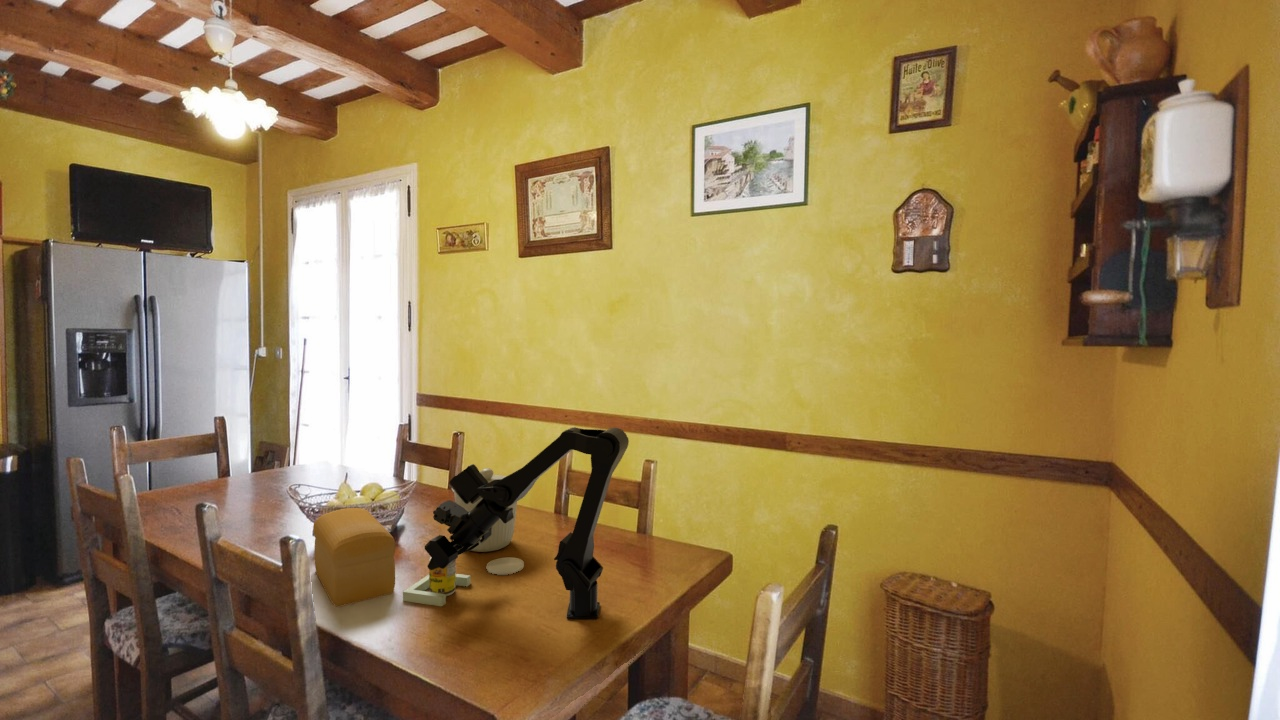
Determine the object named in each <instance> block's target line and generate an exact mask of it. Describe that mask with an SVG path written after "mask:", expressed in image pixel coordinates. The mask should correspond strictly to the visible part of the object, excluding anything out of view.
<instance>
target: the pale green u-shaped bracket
mask: <svg viewBox="0 0 1280 720" xmlns="http://www.w3.org/2000/svg"><path fill="white" fill-rule="evenodd" d="M470 585H472V584H471V575H469V574H468V575H467V574H462V573H456V586H459V587H465V586H466V587H465V588H468V587H469V586H470ZM428 589H429V574H427V575H426V576H424V577H423V578H422V579H419V580H418V581H416V583H413V584H412V585H411V586H409V587H408V588H406V589H405V590H403V591H402V602H403V601H404V602H409V603H416V604H423V605H430V606H435V607H443V606H444V605H446V604H447V602H446V600H447V599H446V598H447V596H446V594H441V593H433V592H430V591H426V590H428Z"/></svg>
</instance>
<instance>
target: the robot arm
mask: <svg viewBox="0 0 1280 720" xmlns="http://www.w3.org/2000/svg"><path fill="white" fill-rule="evenodd" d="M629 443H630V441H629V437H628V434H627V433H626V432H625V431H624V430H623V429H621V428H619V427H610V428H608V429H606V430H605V429H596V428H595V429H593V428H589V429H588V428H580V427H579V428H578V427H570V428H568V429H566V430H564V431H562V432H561V433H560V435H559V436H558V437H557V438H556V439H554V440H553V441H552V442H551V443H550V444H548V446H546V447H545V448H544V449H542V451H540V452H538V454H537V455H536V456H534V457H533V458H532V459H531V460H529V462H527V463H526V464H525V465H524V466H522V468H519V469H518V470H516V471H514V472H512V473H511V474H508V475H505V476H506V477H505V478H503V479H495V480H493V481H491V482H489V483H488V481H487V480H486V479H485V478H484V476H483V475H482V474H481V473H480V472H481V471H480V470H479V469H478V467H477V465H476V464H474V463H472V464H470V465H468V466H467V467H466V468H465V469H464V470H462V471H461V472H459V473H458V474H456V475H455V476H453V477H452V478H451V479H450V480H449V482H448V485H449V486H450V488H451V490H452V489H453V490H454V491H455V492H456V493H457V495H458V496H459V497H460V498H461V499H462V500H463V502H464V503H466V504H468V503H469V502H470V501H471V503H472V504H474V503H475V502H477V501H478V500H479V499H480V498H481V497H482V498H483V499H482V500H481V501H480V502H479V503H478V504H477V505H476V506H475V507H474V508H473V509H472V510H471V511H469V512H468V511H467V510H465V508H463V507H462V506H460V505H458V504H457V503H455V501H453V500H450V499H449V500H446V501H443V502H441V503H440V504H438V506H436V509H435V510H433V511H432V513H433V516H432V517H433V520H434V521H436V523H439V524H441V525H445V526H447V527H448V528H447V529H446V530H447V532H448V533H449V534H450V535H449V539H448V538H447V537H446V535H441V534H439V535H437V536H435V537H434V538H432V539H430V540H429V541H428V542H426V544H425V545H424V550H425V552H427V554H428V555H429V556H430V557H432V558H431V560H430V562H429V561H428V564H427V569H428V571H429V570H433V569H436V568H439V567H440V568H442V569H444V568H446V567H447V566H448V565H450V564H451V563H453V562H454V561H457V559H458V557H459V555H462V554H464V553H467V552H469V551H471V550H472V549H474V548H475V547H477V546H478V545H479V543H478V542H480V543H482V542H484V541H485V540H487V539H488V538H489V537H490V536H491V529H492V528H491V527H492V526H493V525H494V524H495V523H496V522H497V521H498V520H499V519H501V520H502V521H503V523H507V522H509V521H510V520H512V519H513V518H514V516H513V508H509V506H510V505H512V504H514V503H515V502H517V503H518V502H519V501H520V500H522V499H524V497H526V495H527V494H528V493H529V492H530V491H531V489H532V488H533V487H534V485H535V484H536V482H537V480H539V478H541V476H543V475H544V474H545V473H546V472H547V471H549V469H551V468H553V466H554V465H556V464H557V463H558V462H559V461H560V460H562V459H563V458H564V457H566V456H567V455H568V454H569V453H570V452H571V451H575V452H576V451H577V452H579V453H582V454H585V455H590V463H591V464H590V466H591V471H590V472H591V473H590V476H589V479H588V482H587V485H586V488H585V492H584V495H583V498H582V502H581V505H580V507H579V508H580V509H579V511H578V515H577V518H576V521H575V524H574V528H573V530H572V532H569V533H568V534H567V535H565V536H564V537H563V538H562V539H561V540H560V541H559V544H558V550H557V554H556V556H555V557H554V561H556V562H555V569H556V571H557V573H558V575H560V577H561V579H562V583H563V586H564V588H565V590H566V591H569V603H568V606H567V613H566V619H569V620H571V619H573V620H574V619H575V620H577V619H582V620H583V619H587V620H588V619H589V620H590V619H592V620H594V619H595V620H597V619H599V615H600V607H601V602H600V601H599V602H598V581H597V580H598V579H599V578H600V576H601V575H602V573H603V570H604V567H603V565H601V563H600V562H599V561H598V560H597V559H596V557H595V556H594V552H595V551H594V550H595V542H594V541H595V540H594V539H595V538H594V537H595V536H594V534H595V530H596V527H597V524H598V520H599V518H600V514H601V513H602V508H603V504H604V502H605V500H606V499H605V498H606V496H607V491H608V490H609V486H610V482H611V480H612V475H613V473H614V472H615V470H616V469H617V468H618V465H619V464H620V462H621V460H622V459H623V457H624V455H625V453H626V451H627V449H628V446H629ZM481 537H482V539H481V540H480V538H481Z"/></svg>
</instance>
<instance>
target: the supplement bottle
mask: <svg viewBox="0 0 1280 720" xmlns="http://www.w3.org/2000/svg"><path fill="white" fill-rule="evenodd" d="M431 558H432V557H431V556H430V558H429V559H428V560H429V561H428V563H429V562H430V560H431ZM456 561H457V560H456ZM456 561H454V562H453V563H451V564H450V565H448V566H447V567H446V568H444V569H442V568H440V567H439V568H436V569H433V570H429V569H428V571H429V573H428V575H429V588H428V589H429V592H433V593H441V594H446V597H448V596H451V595H453V594H454V593H455V591H456V589H457V588H456V587H457V585H456V574H457V573H456V572H457V571H456V568H457V567H456V564H457V563H456Z"/></svg>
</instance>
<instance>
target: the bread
mask: <svg viewBox="0 0 1280 720" xmlns="http://www.w3.org/2000/svg"><path fill="white" fill-rule="evenodd" d="M312 531H313V535H314V566H315V573H316V575H317V577H318V579H319V580H320V583H321V585H322V586H323V588H324V590H325V592H326V594H327V596H328V598H329V600H330V602H331V603H332V605H334V606H335V607H343V606H346V605H352V604H354V603H359V602H363V601H366V600H367V601H368V600H370V599H374V598H378V597H382V596H386V595H391V594H393V593H394V592H395V588H396V587H395V586H396V565H395V564H396V563H395V557H394V555H395V552H396V541H395V538H394V537H393V536H392V534H391V533H390V532H389V531H388V530H387V529H386V528H385V527H384V525H382V523H380V522H379V520H378V519H377V518H376V517H375V516H373V514H371V512H370V511H368V510H367V509H365V508H360V507H347V508H340V509H337V510H333V511H329V512H326V513H324V514H322V515H321V516H319V517H318V518H317V519H315V521H314V523H313V526H312Z"/></svg>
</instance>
